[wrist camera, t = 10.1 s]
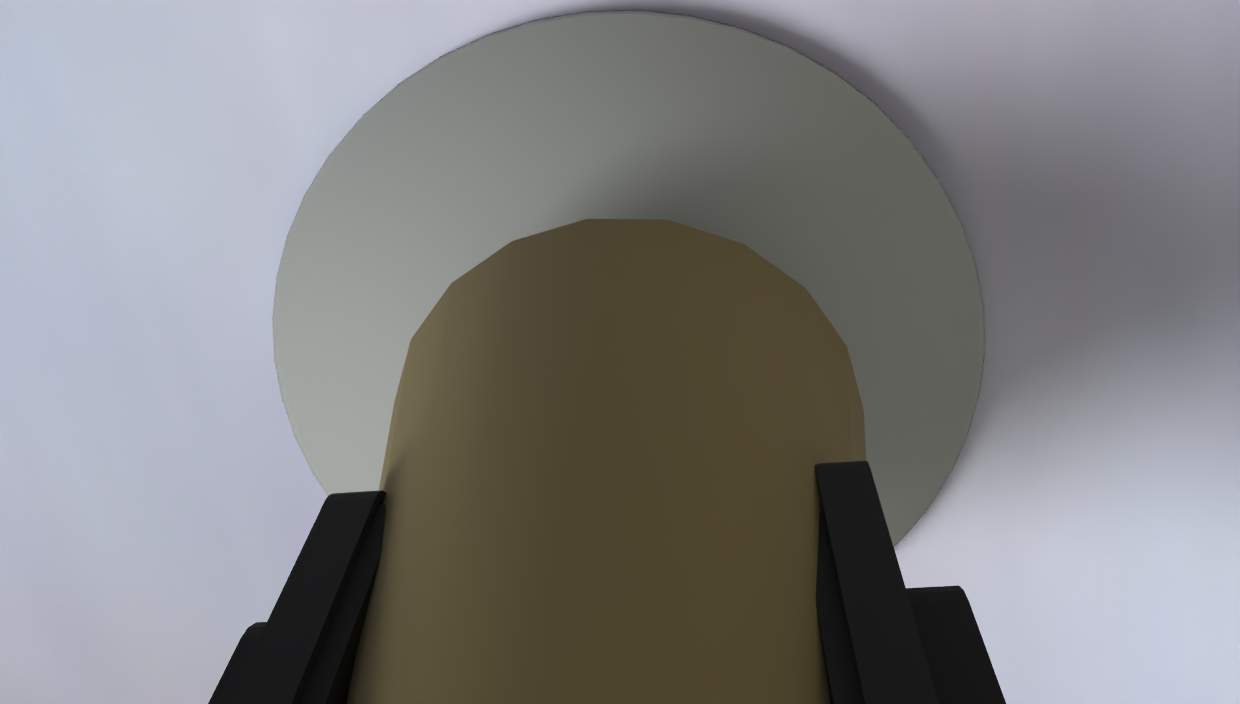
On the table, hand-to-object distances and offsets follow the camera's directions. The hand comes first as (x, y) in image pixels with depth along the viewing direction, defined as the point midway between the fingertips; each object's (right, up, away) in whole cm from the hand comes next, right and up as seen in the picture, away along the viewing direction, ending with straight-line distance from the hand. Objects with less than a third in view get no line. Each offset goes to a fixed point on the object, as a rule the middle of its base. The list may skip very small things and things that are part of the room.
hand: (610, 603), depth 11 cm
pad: (0, +2, +5) cm, 5 cm away
